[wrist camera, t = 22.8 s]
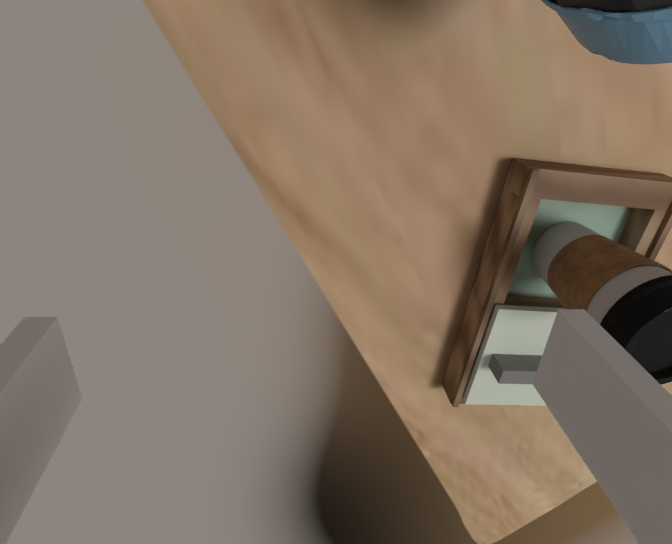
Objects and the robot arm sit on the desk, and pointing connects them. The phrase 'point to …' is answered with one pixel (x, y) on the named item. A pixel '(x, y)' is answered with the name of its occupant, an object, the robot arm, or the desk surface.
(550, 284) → the coffee cup
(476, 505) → the desk surface
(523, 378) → the lid
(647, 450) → the robot arm
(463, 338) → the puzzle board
